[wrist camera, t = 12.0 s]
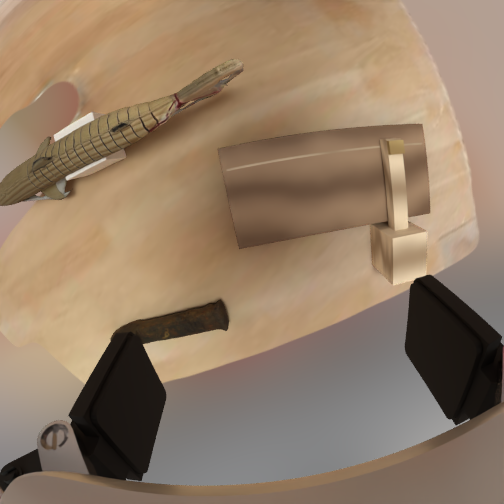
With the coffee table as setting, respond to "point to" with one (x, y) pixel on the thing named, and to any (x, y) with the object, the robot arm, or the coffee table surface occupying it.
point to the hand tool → (179, 324)
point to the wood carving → (102, 140)
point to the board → (318, 182)
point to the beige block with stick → (397, 224)
